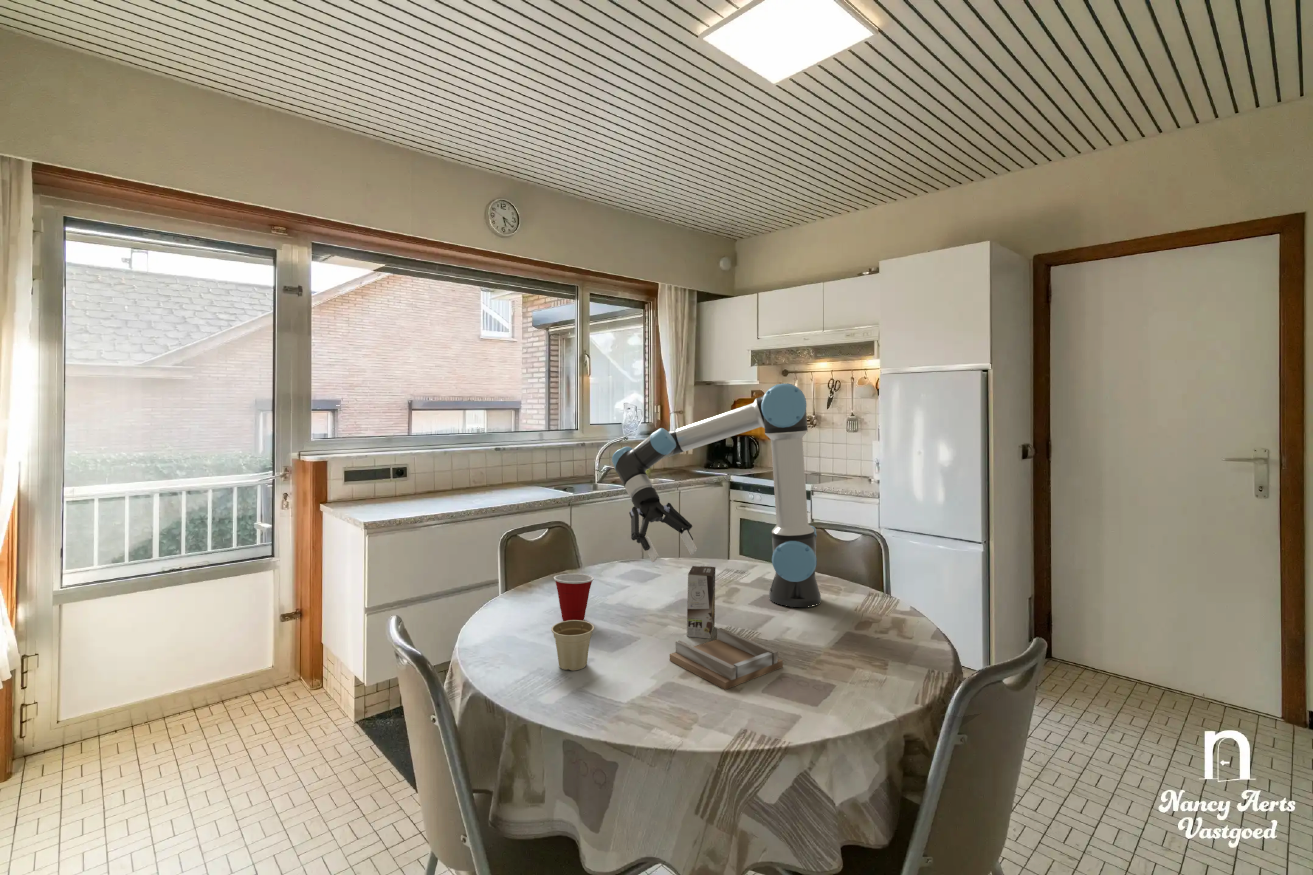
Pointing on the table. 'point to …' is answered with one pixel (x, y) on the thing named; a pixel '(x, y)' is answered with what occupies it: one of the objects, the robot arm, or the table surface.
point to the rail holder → (727, 659)
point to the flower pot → (572, 643)
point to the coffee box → (701, 602)
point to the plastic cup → (573, 595)
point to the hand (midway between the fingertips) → (675, 555)
